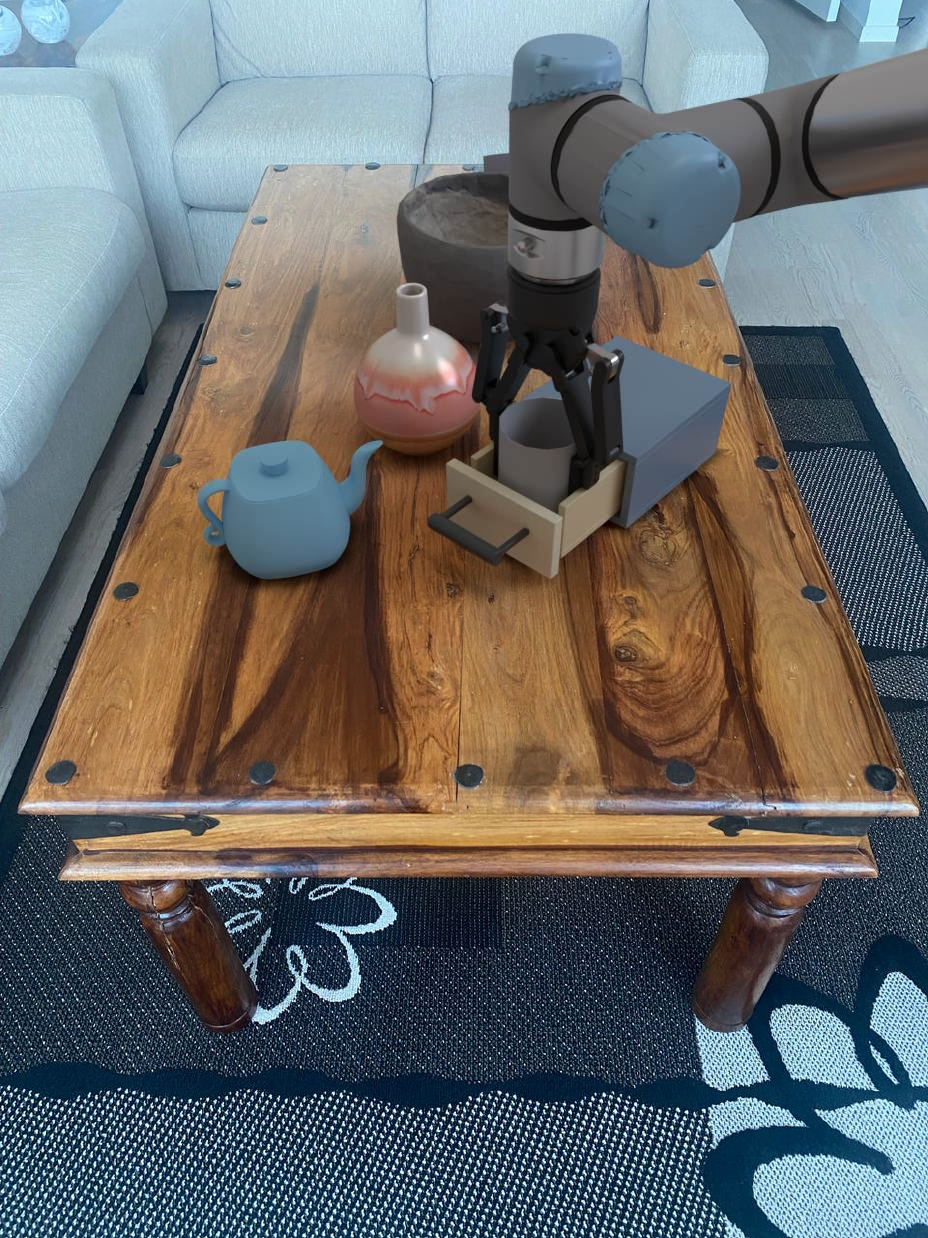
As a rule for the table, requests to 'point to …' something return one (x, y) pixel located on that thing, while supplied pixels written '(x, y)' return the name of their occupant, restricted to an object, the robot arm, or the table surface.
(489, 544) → the open pull-out drawer
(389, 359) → the vase
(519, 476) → the cup
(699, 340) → the table surface
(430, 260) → the bowl
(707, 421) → the cabinet
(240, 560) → the teapot
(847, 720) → the table surface
